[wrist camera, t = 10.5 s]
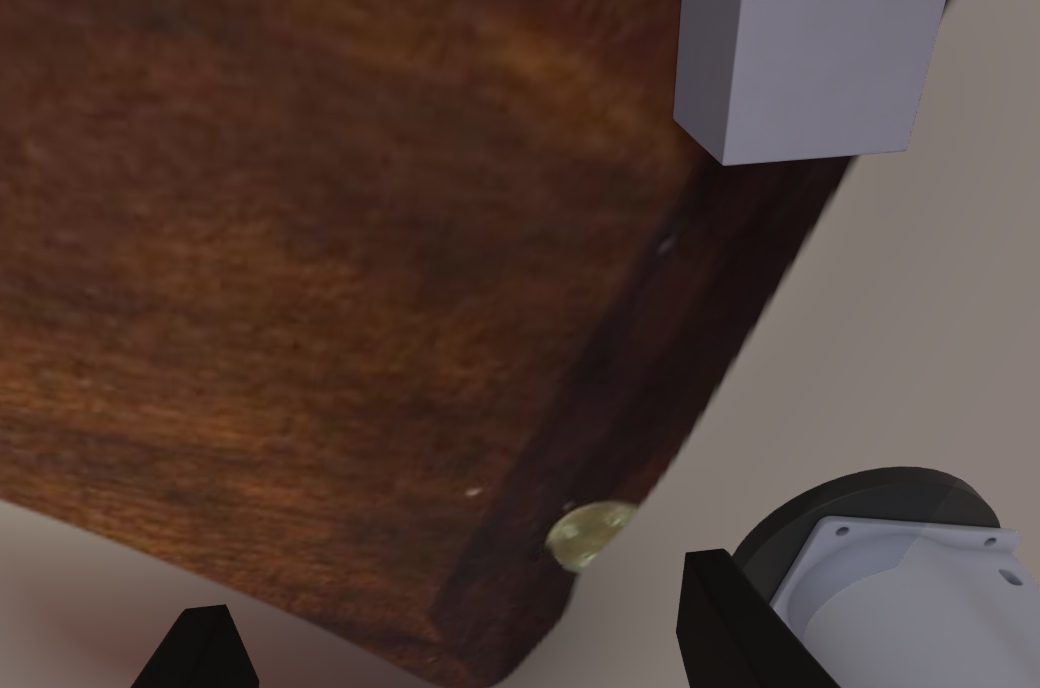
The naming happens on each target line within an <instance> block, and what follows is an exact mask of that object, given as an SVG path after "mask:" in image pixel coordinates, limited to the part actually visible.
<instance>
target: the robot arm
mask: <svg viewBox="0 0 1040 688" xmlns="http://www.w3.org/2000/svg"><path fill="white" fill-rule="evenodd" d="M1020 542H1021V537H1020V536H1019V534H1018V533H1017V532H1016V531H1015V530H1013V529H1003V528H990V527H977V526H964V525H950V524H937V523H924V522H910V521H897V520H884V519H870V518H857V517H844V516H826V517H823V518H821V519H820V520H819V521H818V522H817V523H816V525H815V527H814V528H813V530H812V532H811V534H810V535H809V537H808V539H807V540H806V542H805V544H804V545H803V547H802V549H801V551H800V552H799V554H798V556H797V557H796V559H795V561H794V562H793V564H792V566H791V567H790V569H789V571H788V573H787V574H786V576H785V578H784V579H783V581H782V583H781V584H780V586H779V588H778V590H777V591H776V593H775V595H774V596H773V598H772V600H771V601H770V603H769V604H768V603H767V601H766V600H765V599H764V598H763V596H762V595H761V594H760V593H759V591H758V590H757V589H756V587H755V586H754V585H753V584H752V582H751V581H750V580H749V579H748V577H747V576H746V575H745V573H744V572H743V571H742V569H741V568H740V567H739V566H738V564H737V563H736V562H735V560H734V559H733V558H732V556H731V555H730V554H729V553H728V552H727V551H726V550H725V549H714V550H706V551H696V552H687V553H686V555H685V563H684V571H683V579H682V588H681V596H680V603H679V612H678V620H677V627H676V634H677V638H678V642H679V646H680V650H681V654H682V658H683V662H684V666H685V670H686V674H687V678H688V682H689V685H690V688H1040V585H1039V584H1038V583H1037V582H1036V581H1035V580H1034V578H1032V576H1031V575H1030V574H1029V573H1028V572H1027V570H1025V568H1024V567H1023V566H1022V565H1021V564H1020V563H1019V561H1018V560H1017V559H1016V558H1015V557H1014V556H1013V555H1012V552H1013V551H1014V550H1015V549H1016V548H1017V546H1018V545H1019V544H1020ZM131 688H259V679H258V677H257V675H256V672H255V670H254V668H253V666H252V663H251V661H250V659H249V657H248V654H247V652H246V649H245V647H244V645H243V643H242V640H241V638H240V636H239V633H238V631H237V629H236V626H235V624H234V622H233V619H232V617H231V615H230V613H229V610H228V608H227V606H226V604H224V605H216V606H207V607H198V608H190V609H185V610H184V611H183V612H182V613H181V614H180V616H179V617H178V619H177V620H176V622H175V623H174V624H173V626H172V627H171V629H170V630H169V632H168V634H167V635H166V636H165V638H164V639H163V641H162V642H161V644H160V645H159V647H158V648H157V650H156V651H155V652H154V654H153V656H152V657H151V658H150V660H149V661H148V663H147V664H146V666H145V667H144V669H143V670H142V672H141V673H140V674H139V676H138V677H137V679H136V680H135V682H134V683H133V685H132V686H131Z"/></svg>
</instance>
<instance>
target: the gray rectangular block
mask: <svg viewBox="0 0 1040 688" xmlns="http://www.w3.org/2000/svg"><path fill="white" fill-rule="evenodd" d="M945 1H946V0H682V2H681V15H680V29H679V43H678V57H677V71H676V85H675V99H674V113H673V119H674V120H675V121H676V122H677V123H678V124H679V125H680V126H681V127H682V128H683V129H684V130H685V131H687V132H688V133H689V134H690V135H691V136H692V137H693V138H694V139H695V140H696V141H697V142H698V143H699V144H700V145H702V146H703V147H704V148H705V149H706V150H707V151H708V152H709V153H710V154H711V155H712V156H713V157H714V158H715V159H717V160H718V161H719V162H720V163H721V164H722V165H724V166H727V165H739V164H752V163H764V162H777V161H789V160H801V159H814V158H826V157H839V156H851V155H863V154H875V153H888V152H900V151H906V150H907V148H908V144H909V140H910V136H911V132H912V128H913V124H914V120H915V117H916V113H917V108H918V105H919V101H920V97H921V94H922V90H923V85H924V82H925V78H926V74H927V70H928V66H929V63H930V58H931V55H932V51H933V47H934V43H935V39H936V35H937V32H938V28H939V24H940V20H941V16H942V12H943V8H944V5H945Z"/></svg>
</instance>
